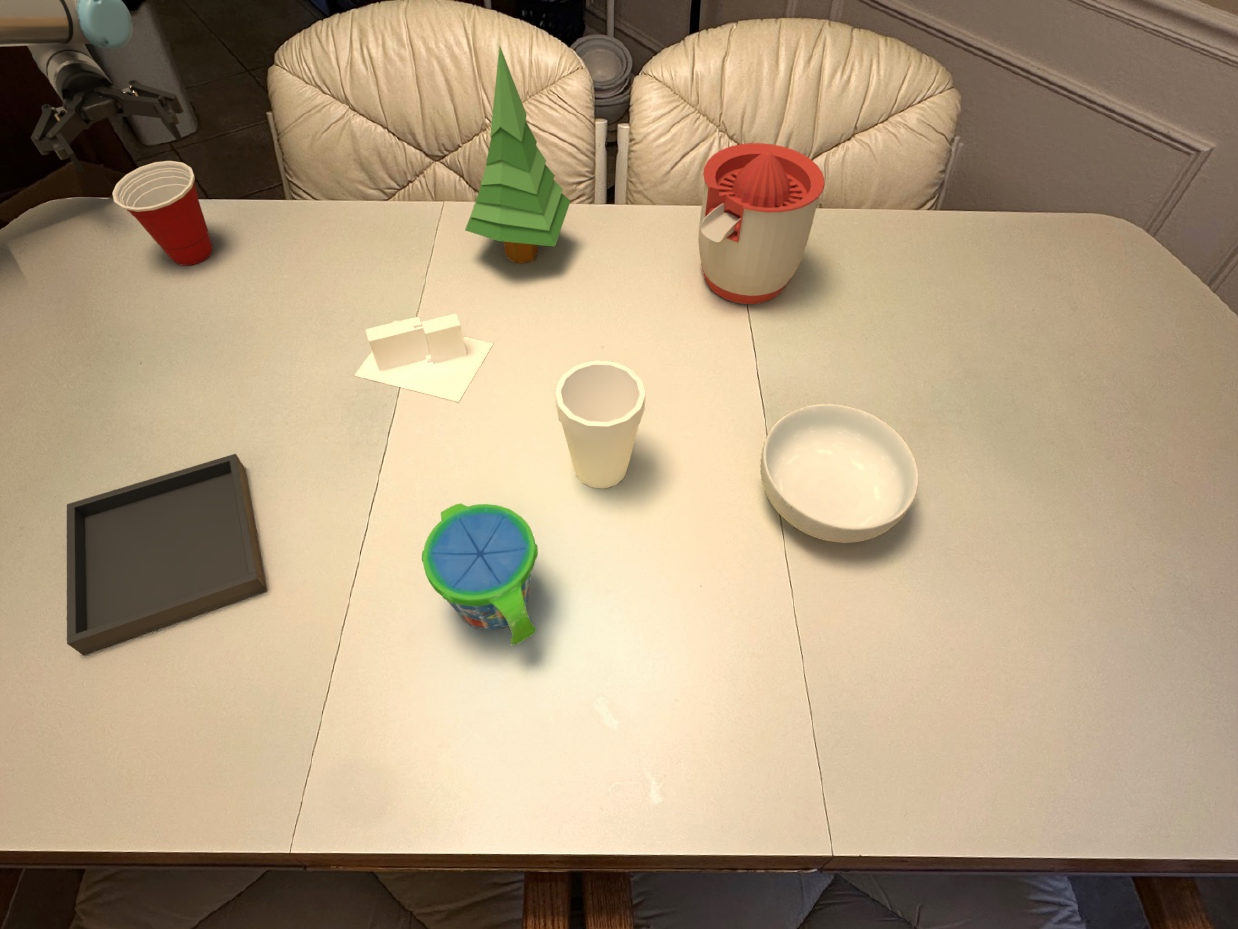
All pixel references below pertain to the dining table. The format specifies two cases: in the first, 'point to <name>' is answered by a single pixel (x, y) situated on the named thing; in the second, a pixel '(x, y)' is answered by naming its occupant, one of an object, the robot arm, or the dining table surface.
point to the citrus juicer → (756, 219)
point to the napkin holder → (424, 356)
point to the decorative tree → (516, 181)
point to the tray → (160, 553)
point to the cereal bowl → (838, 472)
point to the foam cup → (600, 419)
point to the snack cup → (483, 566)
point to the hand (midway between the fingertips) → (127, 146)
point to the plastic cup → (167, 209)
